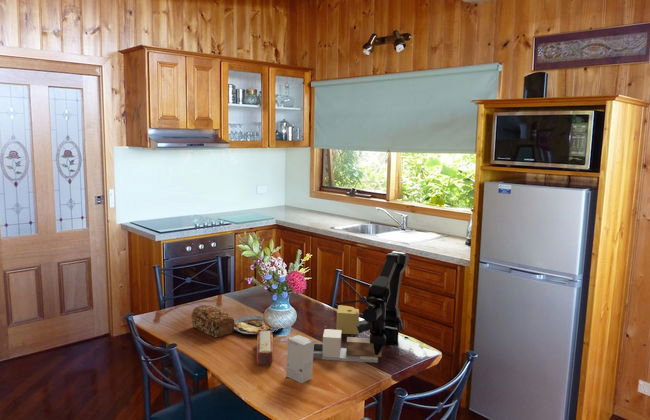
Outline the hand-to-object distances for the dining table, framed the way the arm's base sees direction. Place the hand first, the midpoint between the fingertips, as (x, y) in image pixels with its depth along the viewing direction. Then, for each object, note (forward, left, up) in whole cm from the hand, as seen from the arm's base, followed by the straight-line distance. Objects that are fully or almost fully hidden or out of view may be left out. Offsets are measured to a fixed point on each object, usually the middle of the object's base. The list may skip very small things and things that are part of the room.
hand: (376, 352), depth 217 cm
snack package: (+44, +4, -3) cm, 45 cm away
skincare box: (+28, +22, -2) cm, 36 cm away
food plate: (+53, -25, -3) cm, 59 cm away
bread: (+72, -19, -3) cm, 75 cm away
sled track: (+13, 0, -2) cm, 13 cm away
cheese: (+12, -28, -2) cm, 31 cm away
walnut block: (+5, 0, -1) cm, 5 cm away
